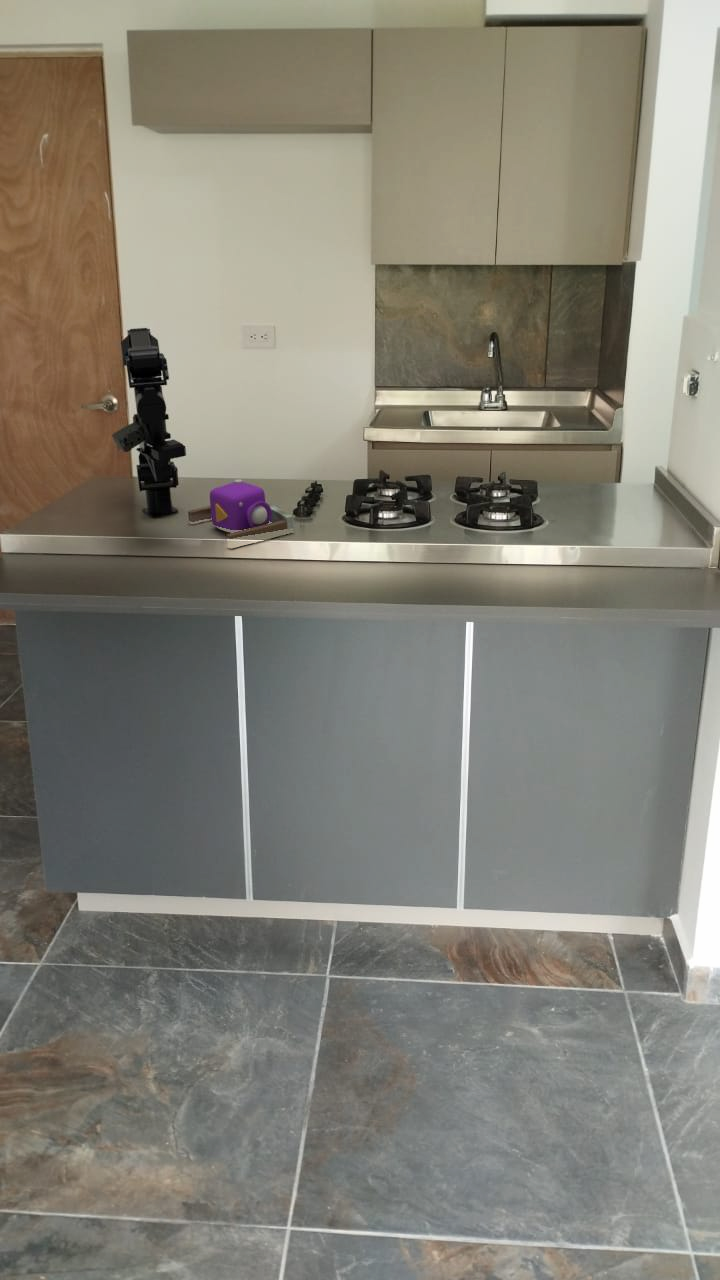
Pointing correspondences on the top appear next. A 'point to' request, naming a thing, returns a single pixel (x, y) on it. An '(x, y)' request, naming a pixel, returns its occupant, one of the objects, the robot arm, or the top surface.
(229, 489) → the toy camera
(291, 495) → the top surface
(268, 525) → the walnut dock
